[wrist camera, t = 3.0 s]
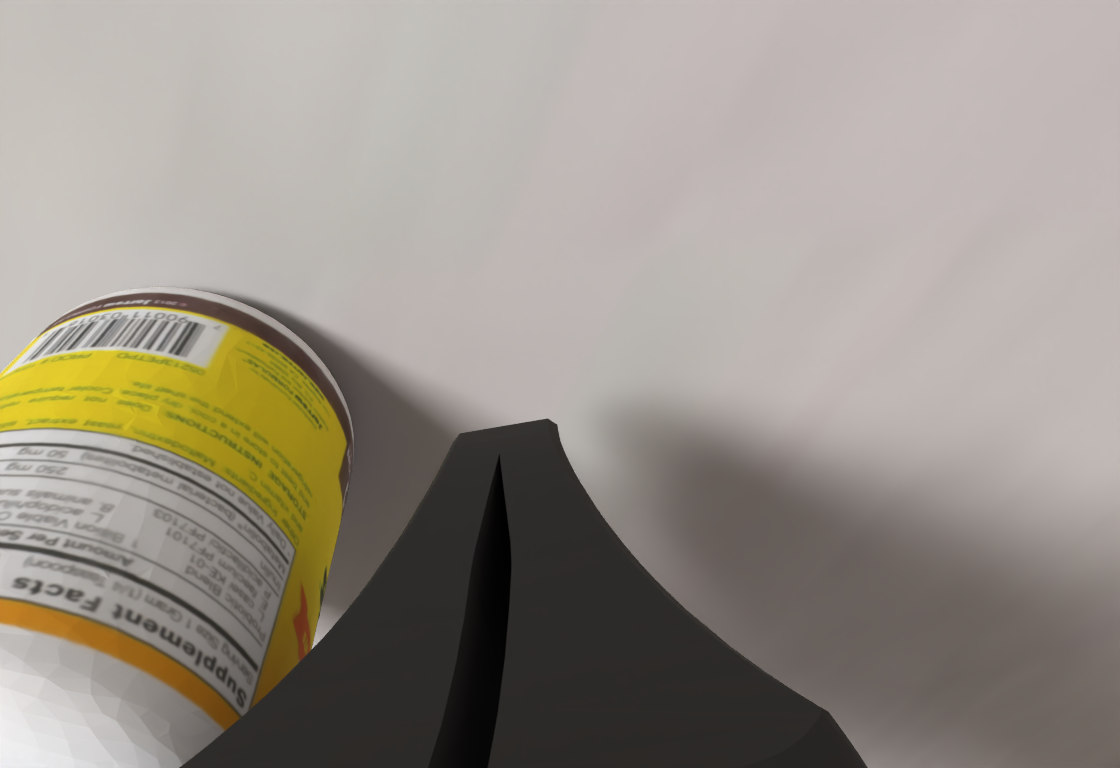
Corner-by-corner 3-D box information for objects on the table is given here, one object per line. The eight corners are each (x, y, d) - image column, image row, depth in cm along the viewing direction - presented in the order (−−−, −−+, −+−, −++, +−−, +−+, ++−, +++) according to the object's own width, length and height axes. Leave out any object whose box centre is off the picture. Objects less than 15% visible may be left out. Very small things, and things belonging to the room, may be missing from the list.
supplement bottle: (219, 586, 17) (-70, 1328, 9) (-39, 404, 15) (-804, 1173, 6) (429, 432, 16) (339, 1145, 7) (178, 201, 13) (-432, 845, 5)
